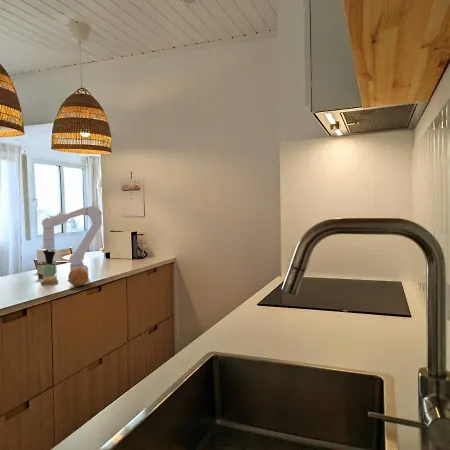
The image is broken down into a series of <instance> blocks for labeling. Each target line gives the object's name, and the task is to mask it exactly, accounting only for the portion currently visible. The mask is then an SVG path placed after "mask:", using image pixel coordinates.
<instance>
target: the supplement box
mask: <svg viewBox="0 0 450 450" xmlns="http://www.w3.org/2000/svg"><path fill="white" fill-rule="evenodd" d="M44 250H46V249H41V248H39V249H36V262H44V261H46V258H45V254H44V252H43V251H44ZM52 250H54V251H53V252H55V254H54V257H53V261H55V262H56V263H57V250H56V248H54V249H52ZM57 269H58V268H57V266H56V268H55V272H57Z"/></svg>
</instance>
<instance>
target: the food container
mask: <svg viewBox="0 0 450 450" xmlns="http://www.w3.org/2000/svg"><path fill="white" fill-rule="evenodd" d="M57 265H58V264H57V261H56V262H55V261H53V262H52V264H48V263H47V262H46V261H44V262H37V261H36V262H35V267H36V272H37V278H38V280H43V266H54V274H56V271H55V268H56V267H57Z"/></svg>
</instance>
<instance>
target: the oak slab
mask: <svg viewBox="0 0 450 450" xmlns="http://www.w3.org/2000/svg"><path fill="white" fill-rule="evenodd" d="M42 280H43V282H44V281H56V280H58V278H57V274H56V273H55V274H54V276H46V277H44V276H43V279H42Z"/></svg>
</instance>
